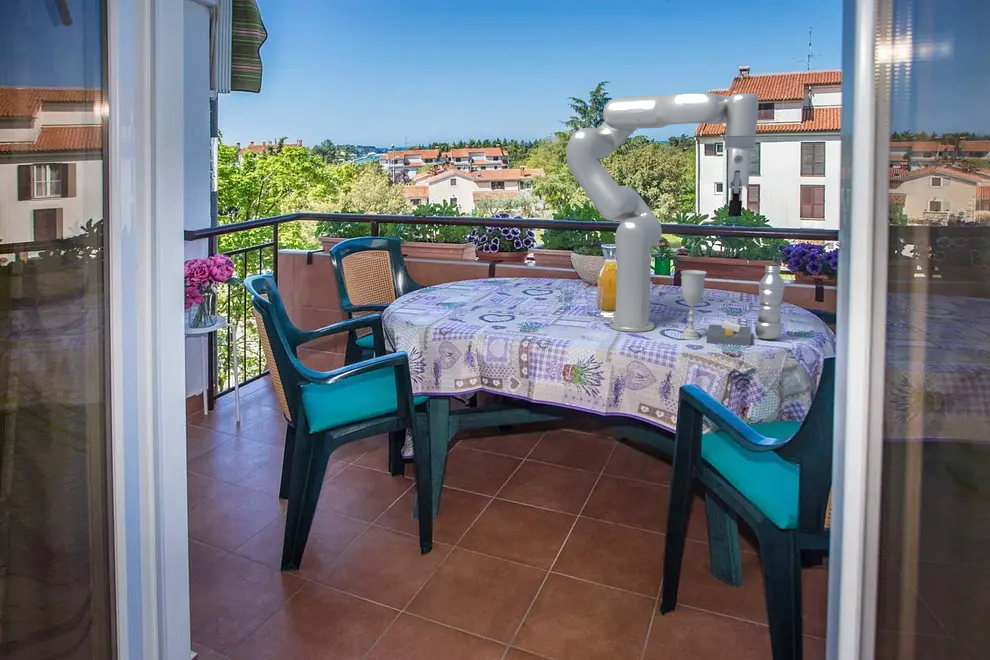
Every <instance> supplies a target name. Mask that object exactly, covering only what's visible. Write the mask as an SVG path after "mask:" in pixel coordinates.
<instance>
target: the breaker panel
mask: <svg viewBox="0 0 990 660" xmlns="http://www.w3.org/2000/svg"><path fill="white" fill-rule="evenodd" d="M730 322H731V323H735V322H734V321H730ZM751 327H752V326H744V325H743V326H742V325H741V326H740V329H739V331H738V332H735V331H733V329H726V328H722V324H721V325H720V324H709V325H708V329H707V334H706V344H721V345H737V346H738V345H739V346H751V338H752V335H751V334H752V333H751V332H752V331H751Z"/></svg>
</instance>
